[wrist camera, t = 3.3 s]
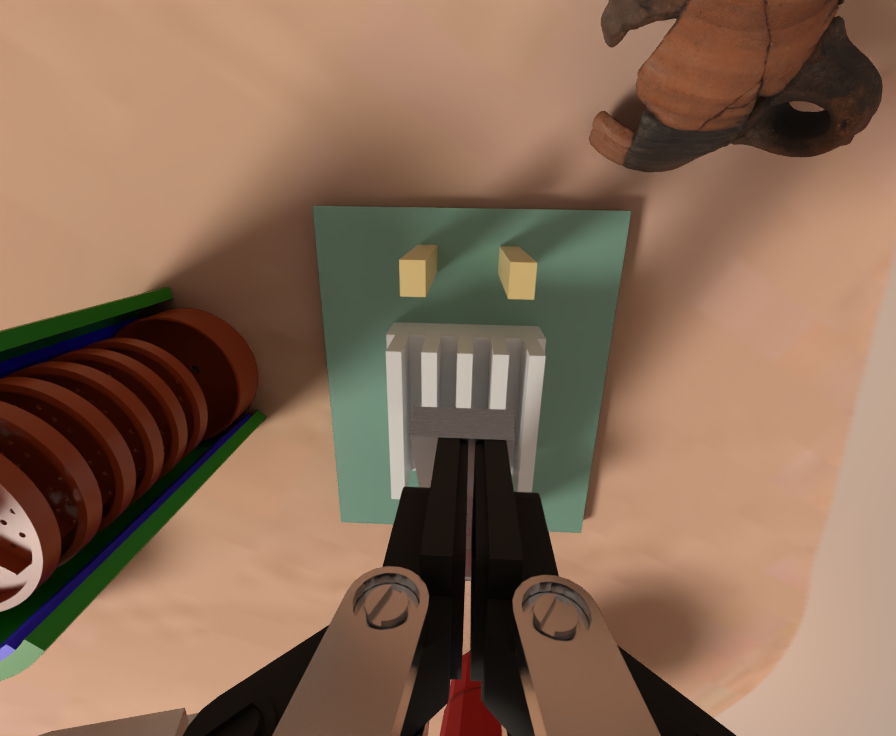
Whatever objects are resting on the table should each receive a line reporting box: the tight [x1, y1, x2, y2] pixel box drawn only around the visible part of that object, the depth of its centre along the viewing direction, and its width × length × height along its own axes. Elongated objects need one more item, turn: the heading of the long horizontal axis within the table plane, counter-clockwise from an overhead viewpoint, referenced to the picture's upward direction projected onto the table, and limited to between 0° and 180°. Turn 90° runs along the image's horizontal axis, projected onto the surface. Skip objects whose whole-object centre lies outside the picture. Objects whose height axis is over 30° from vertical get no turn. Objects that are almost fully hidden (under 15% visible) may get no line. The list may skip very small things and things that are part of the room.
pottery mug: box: [589, 0, 882, 172], centre depth 18 cm, size 12×10×8 cm
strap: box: [410, 406, 515, 581], centre depth 17 cm, size 16×3×1 cm
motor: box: [0, 287, 266, 681], centre depth 18 cm, size 10×9×20 cm
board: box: [312, 206, 631, 533], centre depth 22 cm, size 20×16×8 cm
